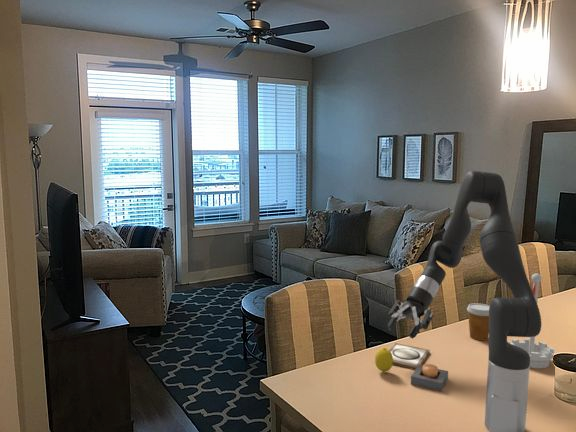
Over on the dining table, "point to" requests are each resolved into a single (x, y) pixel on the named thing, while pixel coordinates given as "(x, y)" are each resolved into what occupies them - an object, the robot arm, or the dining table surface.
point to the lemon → (384, 360)
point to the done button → (430, 371)
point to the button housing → (429, 379)
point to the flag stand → (537, 352)
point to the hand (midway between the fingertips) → (399, 333)
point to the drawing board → (408, 355)
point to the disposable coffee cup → (478, 321)
